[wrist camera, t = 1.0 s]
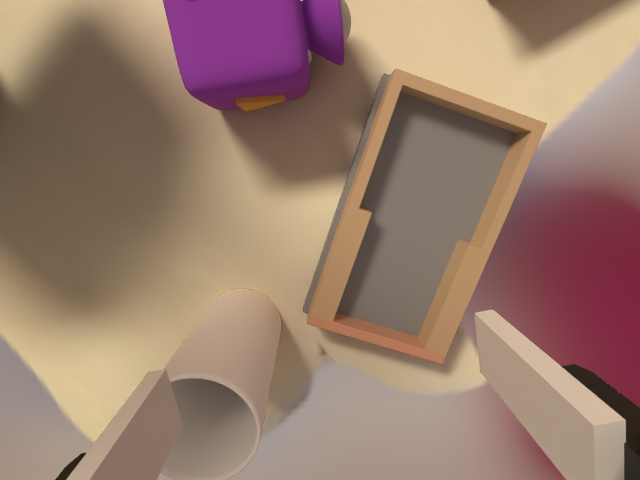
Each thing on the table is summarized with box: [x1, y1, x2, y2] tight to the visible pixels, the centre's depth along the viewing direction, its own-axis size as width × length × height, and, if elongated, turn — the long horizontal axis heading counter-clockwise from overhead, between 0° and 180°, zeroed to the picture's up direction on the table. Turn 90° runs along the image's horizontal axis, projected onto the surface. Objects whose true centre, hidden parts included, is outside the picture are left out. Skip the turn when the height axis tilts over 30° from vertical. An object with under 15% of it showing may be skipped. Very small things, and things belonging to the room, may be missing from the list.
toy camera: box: [163, 0, 351, 112], centre depth 29 cm, size 11×14×10 cm
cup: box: [160, 289, 282, 480], centre depth 32 cm, size 8×8×16 cm
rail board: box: [303, 69, 547, 364], centre depth 36 cm, size 15×24×4 cm, turn 162°
